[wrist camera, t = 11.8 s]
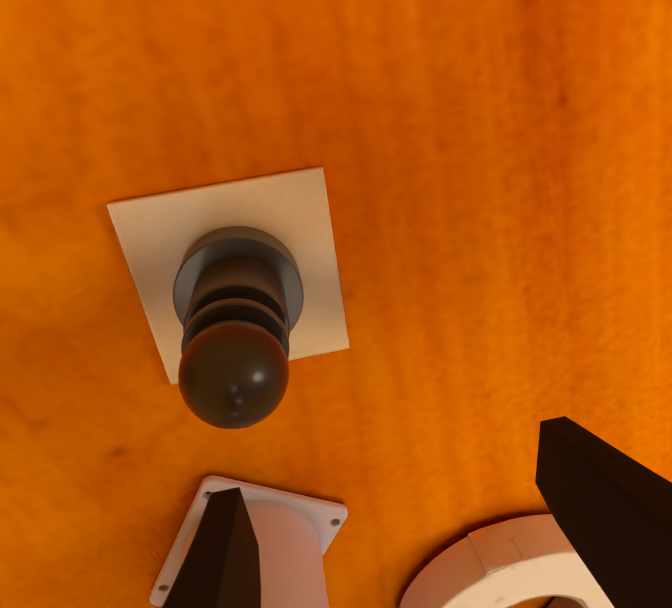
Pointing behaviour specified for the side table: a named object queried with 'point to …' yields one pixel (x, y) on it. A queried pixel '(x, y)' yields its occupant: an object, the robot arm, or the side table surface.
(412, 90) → the side table surface
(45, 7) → the side table surface
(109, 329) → the side table surface
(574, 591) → the tape roll
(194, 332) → the chess pawn
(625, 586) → the robot arm
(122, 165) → the side table surface
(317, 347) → the maple square
